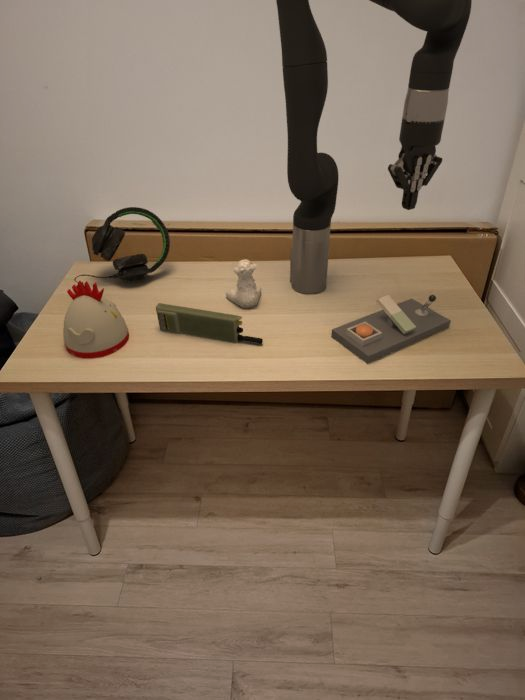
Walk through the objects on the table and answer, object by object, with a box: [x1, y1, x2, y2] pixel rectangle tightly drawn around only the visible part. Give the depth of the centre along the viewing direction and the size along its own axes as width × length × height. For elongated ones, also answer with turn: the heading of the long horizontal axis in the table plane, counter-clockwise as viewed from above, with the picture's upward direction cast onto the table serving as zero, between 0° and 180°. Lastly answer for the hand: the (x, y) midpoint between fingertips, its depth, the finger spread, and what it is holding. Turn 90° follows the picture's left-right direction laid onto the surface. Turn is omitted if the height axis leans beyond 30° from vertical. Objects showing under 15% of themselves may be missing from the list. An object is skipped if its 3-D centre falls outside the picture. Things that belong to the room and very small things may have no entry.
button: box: [356, 324, 373, 339], centre depth 105 cm, size 4×4×2 cm
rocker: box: [375, 294, 416, 334], centre depth 107 cm, size 10×3×1 cm, turn 32°
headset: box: [73, 206, 171, 288], centre depth 127 cm, size 18×14×29 cm
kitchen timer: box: [62, 280, 130, 359], centre depth 105 cm, size 14×14×15 cm
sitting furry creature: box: [225, 258, 262, 309], centre depth 119 cm, size 10×9×12 cm
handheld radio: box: [155, 302, 264, 345], centre depth 108 cm, size 7×3×25 cm
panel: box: [330, 297, 452, 365], centre depth 109 cm, size 12×25×4 cm, turn 122°
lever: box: [421, 294, 437, 312], centre depth 110 cm, size 2×2×6 cm
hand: (408, 208), depth 98 cm, fingers closed
